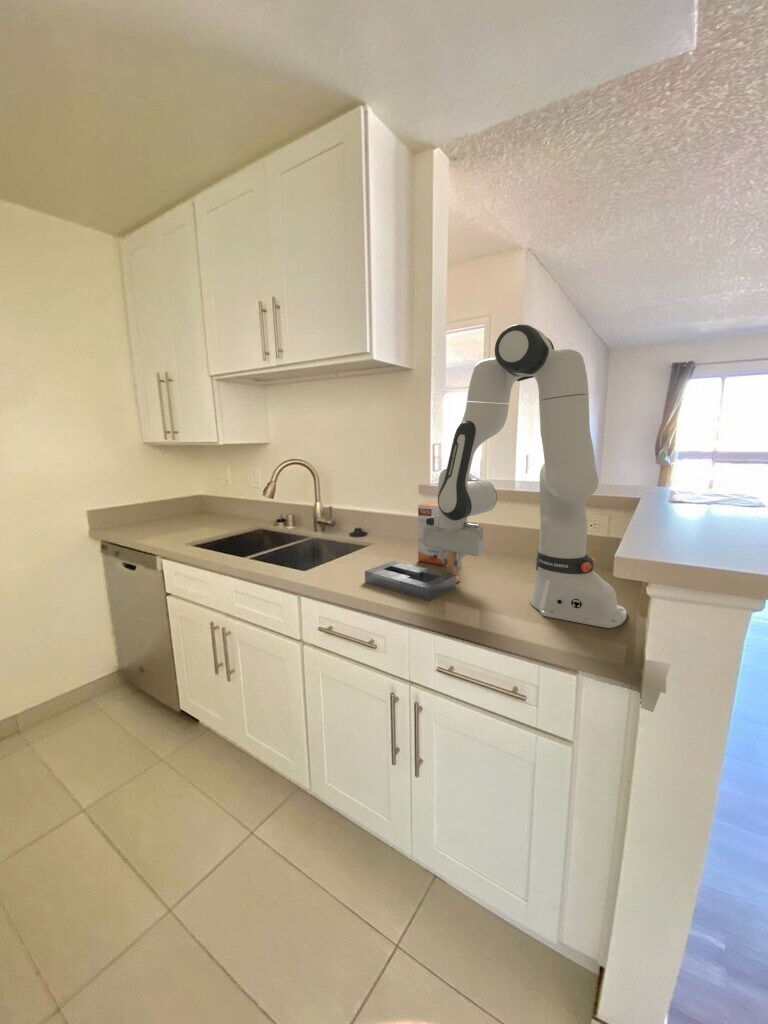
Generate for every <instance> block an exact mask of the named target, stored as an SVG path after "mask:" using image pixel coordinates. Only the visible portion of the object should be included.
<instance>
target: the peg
mask: <svg viewBox="0 0 768 1024" xmlns="http://www.w3.org/2000/svg"><path fill="white" fill-rule="evenodd" d="M455 560H457V553H456V552H451V551H447V566H446V573H448V574H452V575H456V584H458V583H460V579H461V578H460V576H458V575H457V572H458V571H457V570H458V569H457V568H458V567H457V566H454V564H455V563H454V561H455Z"/></svg>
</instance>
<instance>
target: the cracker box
mask: <svg viewBox="0 0 768 1024" xmlns="http://www.w3.org/2000/svg"><path fill="white" fill-rule="evenodd" d="M438 507H439V506H438V503H435V502H434V503H433V502H423V503H420V504H418V506H417V514H418V515H417V516H418V517H417V518H418V520H417V525H418V527H417V532H418V533H417V539H418V540H417V546H418V547H417V549H418V550H417V555H418V558H417V560H418V561H419V562H425V563H428V564H429V563H430V564H434V565H439V566H440V565H441V566H446V567H447V564H443V563H442V557H441V555H440V553H439V549H436V548H430V547H425V546H424V545H423V543H422V533H423V528H424V526H425V524H424V519H425V518H427V517H430V516H434V515H437V514H438ZM445 553H446V556H447V551H446V552H445ZM458 558H459V556H457V560H458Z"/></svg>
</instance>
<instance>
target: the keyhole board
mask: <svg viewBox="0 0 768 1024" xmlns="http://www.w3.org/2000/svg"><path fill="white" fill-rule="evenodd" d="M364 582H365V584H366V583H367V584H370V585H372V586H376V587H379V588H383V589H385V590H386V589H388V590H390V591H394V592H397V593H399V594H403V595H407V596H409V597H414V598H417V599H419V600H422V601H427V602H429V601H431V600H434V599H435V598H438V597H439V596H442V595H443V594H445V593H447V592H449V591H451V590H452V589H455V588H456V585H457V583H456V575H452V574H448V573H447V572H442V571H439V570H434V569H430V568H426V567H421V566H417V565H413V564H411V563H410V564H409V563H404V562H401V561H397V560H393V561H389V562H387V563H384V564H381V565H379V566H376V567H372V568H370V569H366V570H365V571H364Z"/></svg>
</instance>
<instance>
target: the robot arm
mask: <svg viewBox="0 0 768 1024" xmlns="http://www.w3.org/2000/svg"><path fill="white" fill-rule="evenodd" d="M494 356H495V357H490V358H486V359H483V360H480V361H479V362H477V363H476V364H475V366H474V367H473V371H472V374H471V377H470V381H469V386H468V390H467V391H468V392H467V399H466V405H465V411H464V413H463V414H464V415H463V417H462V420H461V422H460V424H459V425H458V426H457V429H456V430H455V433H454V435H453V440H452V444H451V449H450V453H449V457H448V462H447V466H446V468H445V469H443V470H442V471H440V474H439V477H438V483H437V504H438V506H439V507H438V514H437V515H434V516H430V517H427V518H425V519H424V524H425V526H424V528H423V533H422V543H423V545H424V546H425V547H430V548H436V549H439V553H440V555H441V557H442V563H443V564H447V556H446V553H445V552H446V551H451V552H456V553H457V556H459V558H458V560H455V561H454V563H455V564H454V566H457V568H460V567H462V562H463V559H464V557H465V556H466V555H468V556H472V557H479V556H481V555H482V554H484V551H485V545H484V544H485V542H484V529H483V528H482V526H480V525H479V524H476V523H475V524H474V523H469V522H468V518H469V517H471V516H476V515H480V514H484V513H485V514H486V513H488V512H490V511H492V510H493V509H494V508H495V506H496V504H497V501H498V499H497V498H498V497H497V496H498V495H497V490H496V488H495V486H494V485H493V484H492V483H491V482H490V481H488V480H484V479H481V478H479V477H476V476H475V475H473V474H471V473H470V472H471V467H472V463H473V458H474V456H475V452H476V451H477V449H478V448H479V447H481V445H482V444H484V443H485V442H486V441H488V440H489V439H490V438H492V437H494V436H495V435H497V434H498V433H500V432H501V431H502V430H503V428H504V427H505V424H506V422H507V419H508V415H509V407H510V399H511V392H512V388H513V385H514V384H515V383H516V382H521V381H524V380H528V379H533V378H534V379H535V380H536V383H537V387H538V389H537V390H538V408H539V429H540V437H541V444H542V450H543V459H544V463H543V464H542V466H541V468H540V470H539V471H540V472H539V517H540V518H539V519H540V520H539V521H540V523H539V524H540V525H539V542H538V543H539V545H538V550H537V552H536V559H535V560H536V561H535V567H536V568H535V569H536V577H535V583H534V587H533V590H532V593H531V597H530V599H529V603H530V605H531V606H532V607H533V608H535V609H537V610H538V611H539V613H540V614H541V615H542V616H544V617H548V618H553V619H557V620H563V621H569V622H574V623H579V624H585V625H589V626H594V627H601V628H605V629H613V628H616V627H619V626H621V625H622V624H623V623H624V622H625V621H626V620H627V615H628V614H627V609H626V608H625V607H623V606H622V605H619V604H618V599H617V593H616V590H615V588H614V587H613V586H612V585H611V584H609V583H608V582H607V581H606V580H604V578H602V577H601V576H600V575H598V573H596V572H595V571H594V568H595V566H594V564H595V560H596V558H595V557H593V558H591V557H590V556H589V555H587V538H588V528H589V527H588V519H587V511H586V509H587V508H586V501H587V500H588V499H589V498H591V497H592V496H593V495H594V494H595V492H596V491H597V489H598V487H599V486H598V485H599V476H598V472H597V465H596V458H595V450H594V445H593V439H592V433H591V425H590V401H589V400H590V399H589V398H590V395H589V383H588V382H589V381H588V375H587V369H586V363H585V361H584V357H583V356H582V353H580V352H579V351H578V350H574V349H570V348H569V349H567V348H566V349H565V348H564V349H558V350H557V349H555V346H554V343H552V341H551V339H550V338H548V337H547V335H545V333H543V332H542V331H541V330H539V329H537V328H535V327H534V326H531V325H528V324H523V323H520V324H513V325H511V326H508V327H507V328H506V329H504V330H503V331H502V332H501V333H500V335H498V338H497V339H496V341H495V345H494Z"/></svg>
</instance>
